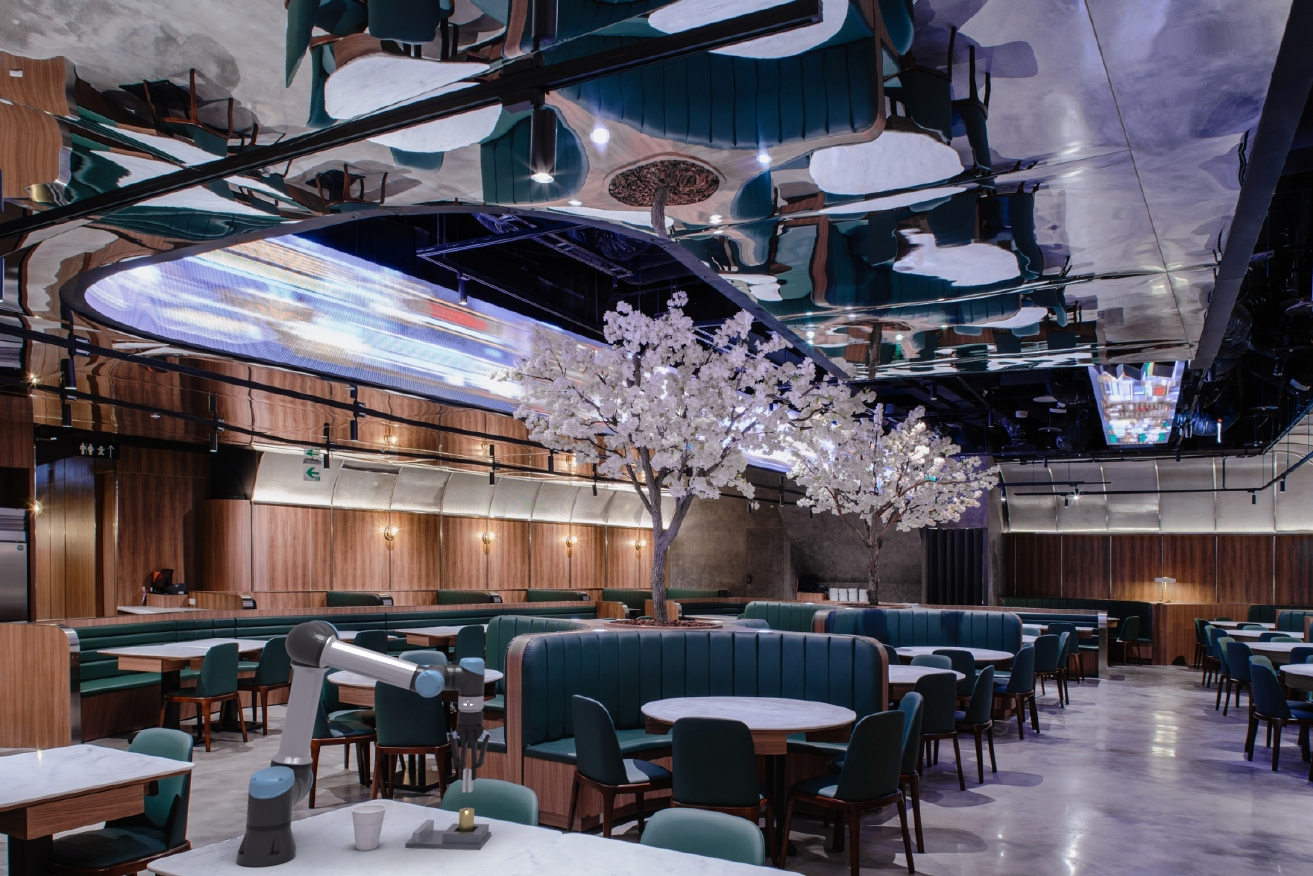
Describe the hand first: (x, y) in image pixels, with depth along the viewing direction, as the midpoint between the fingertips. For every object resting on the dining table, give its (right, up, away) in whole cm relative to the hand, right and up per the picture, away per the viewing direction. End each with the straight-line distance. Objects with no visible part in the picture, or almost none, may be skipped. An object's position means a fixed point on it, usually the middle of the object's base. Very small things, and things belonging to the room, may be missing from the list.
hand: (467, 791), depth 268 cm
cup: (-28, -13, -9) cm, 32 cm away
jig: (-5, -14, -2) cm, 15 cm away
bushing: (0, -13, -2) cm, 13 cm away
